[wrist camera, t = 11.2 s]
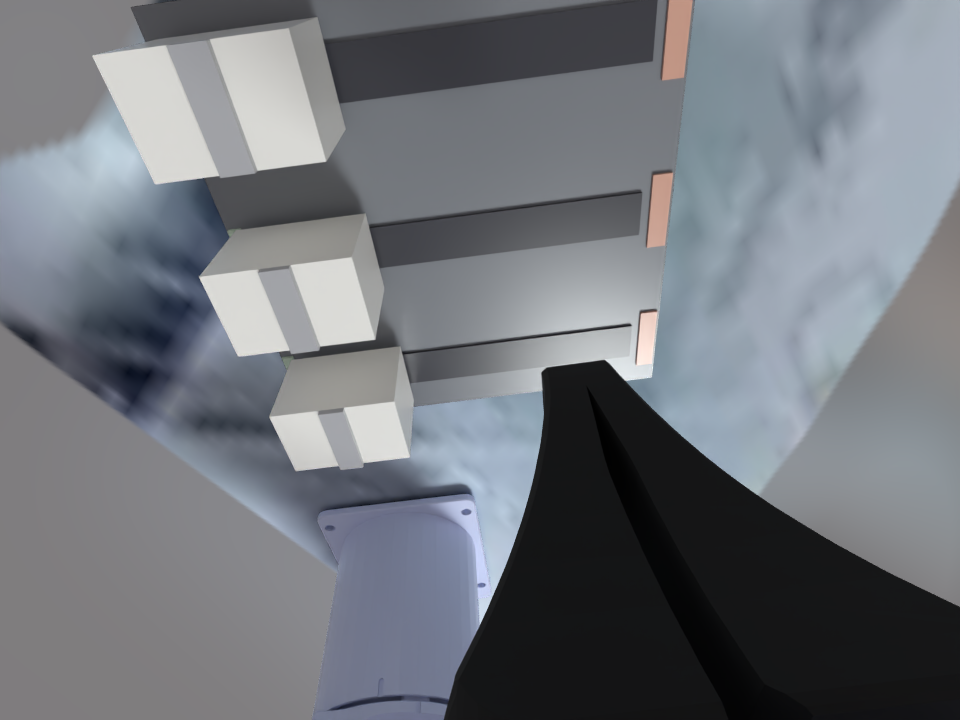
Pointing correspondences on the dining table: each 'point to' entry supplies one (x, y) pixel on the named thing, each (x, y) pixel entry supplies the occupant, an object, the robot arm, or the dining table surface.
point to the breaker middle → (297, 286)
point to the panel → (486, 175)
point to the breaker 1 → (227, 100)
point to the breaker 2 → (345, 409)
